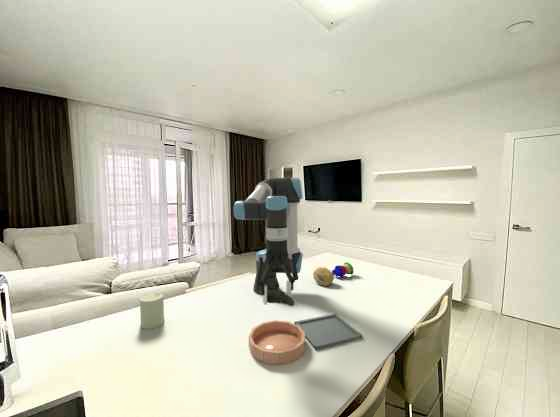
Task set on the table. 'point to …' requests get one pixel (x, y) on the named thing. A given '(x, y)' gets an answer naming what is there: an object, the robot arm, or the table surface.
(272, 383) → the table surface
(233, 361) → the table surface
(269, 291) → the stone
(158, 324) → the can
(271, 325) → the bowl
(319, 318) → the tray
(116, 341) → the table surface
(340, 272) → the toy figure
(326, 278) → the stone
